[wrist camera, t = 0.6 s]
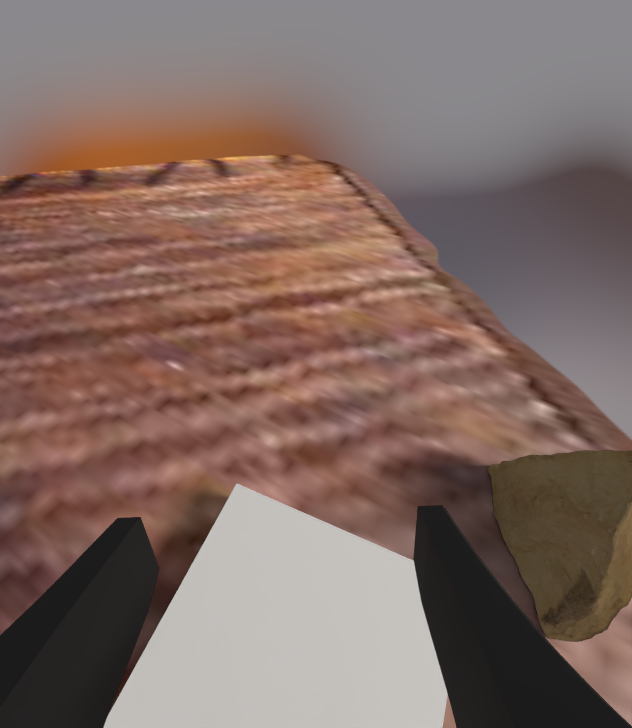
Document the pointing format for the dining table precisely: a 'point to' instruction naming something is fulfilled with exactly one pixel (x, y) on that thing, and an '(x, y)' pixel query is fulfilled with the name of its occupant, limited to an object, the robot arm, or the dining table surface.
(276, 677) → the base plinth
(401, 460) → the dining table surface
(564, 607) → the rock
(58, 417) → the dining table surface
